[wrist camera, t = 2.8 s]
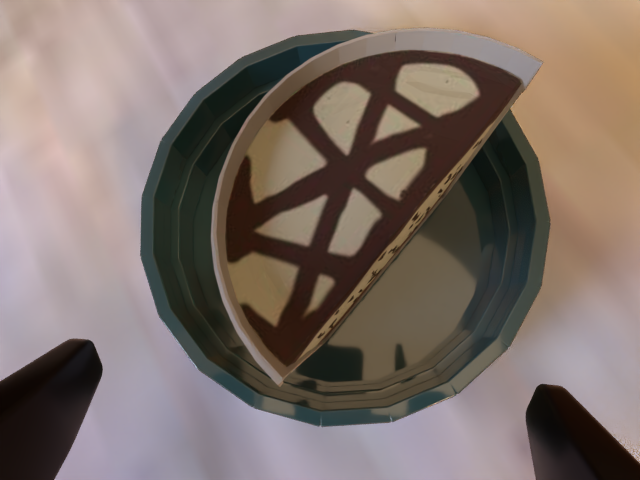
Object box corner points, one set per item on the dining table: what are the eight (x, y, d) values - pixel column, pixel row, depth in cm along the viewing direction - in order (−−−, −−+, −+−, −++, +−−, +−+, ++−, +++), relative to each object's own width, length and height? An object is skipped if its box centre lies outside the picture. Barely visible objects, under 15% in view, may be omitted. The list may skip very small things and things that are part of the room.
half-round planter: (368, 107, 23) (383, -59, 13) (462, 175, 22) (555, 48, 12) (215, 283, 21) (101, 243, 12) (306, 365, 20) (266, 397, 10)
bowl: (402, 483, 19) (416, 522, 15) (112, 285, 22) (62, 275, 18) (571, 174, 22) (620, 139, 18) (290, 31, 24) (279, -25, 21)
